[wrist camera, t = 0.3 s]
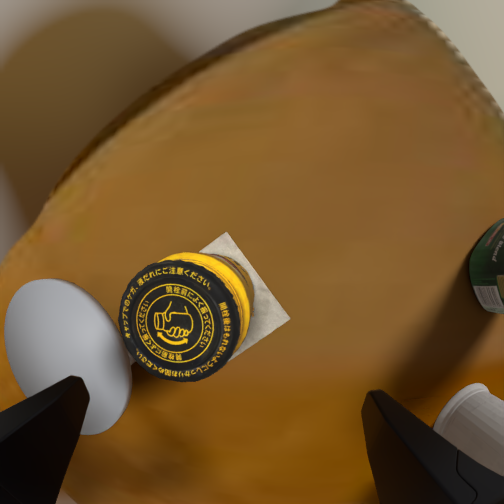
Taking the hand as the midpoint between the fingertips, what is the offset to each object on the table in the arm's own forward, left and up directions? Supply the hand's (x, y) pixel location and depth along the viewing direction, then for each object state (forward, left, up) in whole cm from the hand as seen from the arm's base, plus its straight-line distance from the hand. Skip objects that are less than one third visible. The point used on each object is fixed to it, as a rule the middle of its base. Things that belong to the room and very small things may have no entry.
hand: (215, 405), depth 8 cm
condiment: (-1, +2, -16) cm, 16 cm away
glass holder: (+7, -29, -15) cm, 34 cm away
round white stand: (-14, +9, -15) cm, 22 cm away
